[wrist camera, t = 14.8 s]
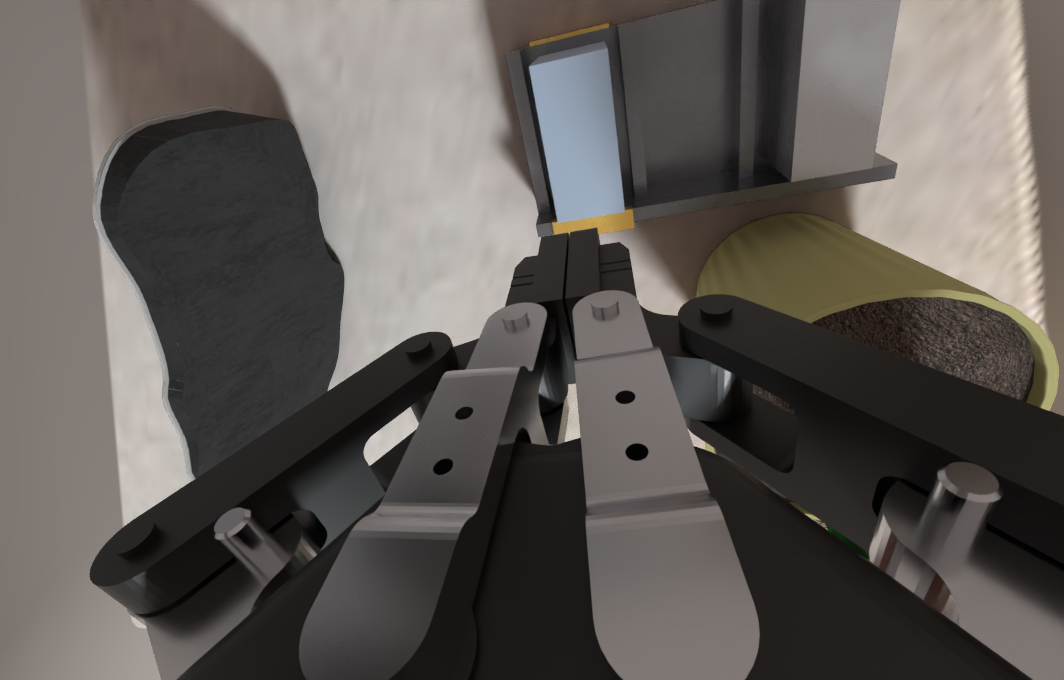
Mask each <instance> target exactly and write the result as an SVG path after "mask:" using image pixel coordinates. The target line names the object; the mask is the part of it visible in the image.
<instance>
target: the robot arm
mask: <svg viewBox="0 0 1064 680" xmlns="http://www.w3.org/2000/svg"><path fill="white" fill-rule="evenodd" d="M575 383H576V389H577V400H578V412H579V423H580V435H581V438H578V439H575V440H571V441H568V442H564V441H565V434H566V428H567V421H568V414H569V404H568V400H567V393H568V384H575ZM753 384H754V385H756V386H758V387H760V388H762V389H764V390H766V391H768V392H770V393H771V394H773V395H775V396H777V397H779V398H781V399H783V400H784V401H785V402H787V403H788V404H789V405H790V406H791V407H792V408H793V410H794V411H795V413H796V415H797V416H795V415H793V414H792V413H790V412H788V411H786V410H784V409H782V408H780V407H778V406H777V405H775V404H773V403H771V402H769V401H767V400H765V399H763V398H761V397H760V396H758V395H756V394H754V393H753ZM410 406H411V408H412V410H413V412H414V414H415V416H416V419H417V421H418V423H419V425H418V427H417V429H416V430H415V431H414V432H413V433H411V434H410V435H409V436H408V437H406V438H405V439H404V440H402V441H401V442H400V443H399V444H397V445H396V446H395V447H394V448H392V449H391V450H390V451H389V452H387V453H386V454H385V455H383V456H382V457H381V458H380V459H378V460H377V461H376V462H375V463H373V464H372V465H370V466H369V465H368V463H367V462H366V460H365V458H364V455H363V451H364V447H365V444H366V442H367V441H368V439H369V438H370V437H371V436H372V435H373V434H374V433H376V432H377V431H378V430H380V429H381V428H382V427H384V426H385V425H386V424H388V423H389V422H390V421H392V420H393V419H394V418H396V417H397V416H398V415H400V414H401V413H402V412H404V411H405V410H406V409H408V408H409V407H410ZM687 428H688V429H689V430H690V431H691V432H692V433H693V434H694V435H696V436H697V437H699V438H700V439H702V440H703V441H705V442H706V443H707V444H709V445H710V446H712V447H713V448H715V449H716V450H718V451H719V452H721V453H722V454H724V455H725V456H727V457H728V458H730V459H731V460H733V461H734V462H736V463H737V464H738V465H740V466H741V467H743V468H744V469H746V470H747V471H749V472H750V473H752V474H753V475H755V476H756V477H758V478H759V479H761V480H762V481H764V482H765V483H766V484H768V485H769V486H771V487H772V488H774V489H775V490H777V491H778V492H780V493H781V494H783V495H784V496H786V497H787V498H789V499H790V500H792V501H793V502H795V503H796V504H797V505H799V506H800V507H802V508H803V509H805V510H806V511H808V512H809V513H811V514H812V515H814V516H815V517H817V518H818V519H820V520H821V521H823V522H824V523H826V524H827V525H828V526H830V527H831V528H833V529H834V530H836V531H837V532H839V533H840V534H842V535H843V536H845V537H846V538H848V539H849V540H851V541H852V542H854V543H855V544H856V545H858V546H859V547H861V548H862V549H864V550H865V551H867V552H868V553H869V556H870V561H871V562H870V561H869V560H867V559H866V558H865V557H863V556H862V555H861V554H859V553H858V552H856V551H855V550H854V549H852V548H851V547H850V546H848V545H847V544H845V543H844V542H843V541H841V540H840V539H839V538H837V537H836V536H834V535H833V534H832V533H830V532H829V531H828V530H826V529H825V528H823V527H822V526H821V525H819V524H818V523H817V522H815V521H814V520H812V519H811V518H810V517H808V516H807V515H805V514H804V513H803V512H801V511H800V510H799V509H797V508H796V507H794V506H793V505H792V504H790V503H789V502H788V501H786V500H785V499H783V498H782V497H781V496H779V495H778V494H777V493H775V492H774V491H772V490H771V489H770V488H768V487H767V486H766V485H764V484H763V483H761V482H760V481H759V480H757V479H756V478H755V477H753V476H752V475H750V474H749V473H748V472H746V471H745V470H743V469H742V468H741V467H739V466H738V465H736V464H734V463H732V462H731V461H729V460H727V459H725V458H724V457H721V456H719V455H717V454H715V453H712V452H710V451H707V450H704V449H701V448H698V447H695V446H693V443H692V440H691V437H690V434H689V432H688V429H687ZM90 580H91V581H92V583H93V584H95V585H96V586H98V587H99V588H100V589H102V590H103V591H104V592H106V593H107V594H108V595H110V596H111V597H113V598H114V599H115V600H117V601H118V602H120V603H121V604H122V605H124V606H125V607H126V608H127V610H128V612H129V614H130V615H132V616H133V617H135V618H136V619H137V620H139V621H140V622H141V623H143V624H144V625H146V627H147V631H148V634H149V637H150V641H151V645H152V648H153V652H154V655H155V659H156V663H157V666H158V670H159V673H160V677H161V680H1064V416H1062V415H1059V414H1056V413H1053V412H1050V411H1048V410H1045V409H1043V408H1040V407H1037V406H1034V405H1032V404H1029V403H1026V402H1024V401H1021V400H1018V399H1015V398H1013V397H1010V396H1007V395H1004V394H1002V393H999V392H996V391H994V390H991V389H988V388H985V387H983V386H980V385H977V384H975V383H972V382H969V381H966V380H964V379H961V378H958V377H955V376H953V375H950V374H947V373H945V372H942V371H939V370H936V369H934V368H931V367H928V366H925V365H923V364H920V363H917V362H915V361H912V360H909V359H906V358H904V357H901V356H898V355H896V354H893V353H890V352H887V351H885V350H882V349H879V348H876V347H874V346H871V345H868V344H866V343H863V342H860V341H857V340H855V339H852V338H849V337H847V336H844V335H841V334H838V333H836V332H833V331H830V330H827V329H825V328H822V327H819V326H817V325H814V324H811V323H808V322H806V321H803V320H800V319H798V318H795V317H792V316H789V315H787V314H784V313H781V312H778V311H776V310H773V309H770V308H768V307H765V306H762V305H759V304H757V303H754V302H751V301H748V300H746V299H743V298H740V297H737V296H733V295H725V294H712V295H705V296H701V297H697V298H694V299H692V300H690V301H688V302H687V303H685V304H684V305H683V306H682V307H681V308H680V310H679V312H678V316H673V315H662V314H657V313H653V312H650V311H648V310H646V309H645V308H643V307H642V306H641V305H640V304H639V302H638V300H637V297H636V290H635V284H634V278H633V272H632V266H631V260H630V254H629V249H628V248H626V247H625V246H624V245H622V244H621V243H620V242H617V243H610V244H604V245H600V241H599V234H598V229H597V227H596V228H590V229H585V230H579V231H573V232H570V236H569V233H568V232H567V233H561V234H556V235H550V236H544V237H541V242H540V247H539V252H538V255H537V256H531V257H525V258H524V259H523V260H522V261H521V262H520V263H519V264H518V265H517V266H516V267H515V271H514V275H513V279H512V282H511V288H510V290H509V294H508V298H507V301H506V305H505V307H504V308H502V309H500V310H498V311H496V312H495V313H494V314H492V315H491V316H490V317H489V319H488V320H487V322H486V324H485V326H484V328H483V331H482V333H481V335H480V338H478V339H476V340H473V341H470V342H467V343H464V344H461V345H458V346H455V347H453V345H452V342H451V339H450V337H449V336H448V335H446V334H444V333H441V332H427V333H422V334H419V335H416V336H413V337H411V338H409V339H407V340H405V341H403V342H402V343H400V344H399V345H397V346H396V347H394V348H393V349H391V350H390V351H388V352H387V353H385V354H384V355H382V356H381V357H379V358H378V359H376V360H375V361H373V362H372V363H370V364H369V365H367V366H366V367H364V368H363V369H361V370H359V371H358V372H356V373H355V374H353V375H352V376H350V377H349V378H347V379H346V380H344V381H343V382H341V383H340V384H338V385H337V386H335V387H334V388H332V389H331V390H329V391H328V392H326V393H325V394H323V395H322V396H320V397H319V398H317V399H316V400H314V401H313V402H311V403H310V404H308V405H307V406H305V407H303V408H302V409H300V410H299V411H297V412H296V413H294V414H293V415H291V416H290V417H288V418H287V419H285V420H284V421H282V422H281V423H279V424H278V425H276V426H275V427H273V428H272V429H270V430H269V431H267V432H266V433H264V434H263V435H261V436H260V437H258V438H257V439H255V440H254V441H252V442H251V443H249V444H248V445H246V446H244V447H243V448H241V449H240V450H238V451H237V452H235V453H234V454H232V455H231V456H229V457H228V458H226V459H225V460H223V461H222V462H220V463H219V464H217V465H216V466H214V467H213V468H211V469H210V470H208V471H207V472H205V473H204V474H202V475H201V476H199V477H198V478H196V479H195V480H193V481H192V482H190V483H188V484H187V485H185V486H184V487H182V488H181V489H179V490H178V491H176V492H175V493H173V494H172V495H170V496H169V497H167V498H166V499H164V500H163V501H161V502H160V503H158V504H157V505H155V506H154V507H152V508H151V509H149V510H148V511H146V512H145V513H143V514H142V515H140V516H139V517H137V518H136V519H134V520H133V521H131V522H130V523H128V524H127V525H126V526H124V527H123V528H122V529H121V530H119V531H118V532H117V533H116V534H115V535H114V536H113V537H112V538H111V539H110V540H109V541H108V542H107V543H106V544H105V545H104V547H103V548H102V549H101V550H100V552H99V553H98V555H97V556H96V558H95V560H94V562H93V564H92V566H91V569H90Z"/></svg>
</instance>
